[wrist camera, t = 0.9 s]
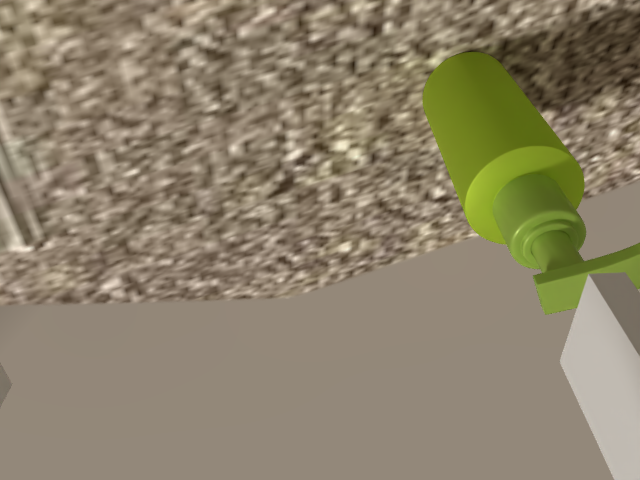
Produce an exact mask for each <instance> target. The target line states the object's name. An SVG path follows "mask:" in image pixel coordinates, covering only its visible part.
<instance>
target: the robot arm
mask: <svg viewBox="0 0 640 480" xmlns="http://www.w3.org/2000/svg"><path fill="white" fill-rule="evenodd" d="M560 363H561V365H562V368H563V370H564V372H565V374H566V376H567V379H568V381H569V383H570V385H571V387H572V389H573V392H574V394H575V396H576V398H577V400H578V402H579V404H580V407H581V409H582V411H583V413H584V415H585V417H586V419H587V422H588V424H589V426H590V428H591V430H592V432H593V435H594V437H595V439H596V441H597V443H598V445H599V447H600V450H601V452H602V454H603V456H604V458H605V460H606V462H607V465H608V467H609V469H610V471H611V473H612V476H613V478H614V480H640V293H639V291H638V290H637V288H636V287H635V285H634V284H633V283H632V281H631V280H630V278H629V277H628V275H627V274H626V273H625V272H620V273H596V274H588V277H587V280H586V283H585V286H584V289H583V292H582V295H581V298H580V301H579V304H578V307H577V310H576V314H575V317H574V320H573V323H572V326H571V329H570V332H569V335H568V338H567V342H566V344H565V347H564V351H563V353H562V356H561V359H560ZM11 386H12V383H11V381H10V379H9V377H8V376H7V374H6V372H5V370H4V369H3V367H2V365H1V364H0V407H1V405H2V403H3V401H4V399H5V397H6V395H7V393H8V391H9V389H10V388H11Z"/></svg>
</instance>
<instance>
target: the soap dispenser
mask: <svg viewBox="0 0 640 480" xmlns="http://www.w3.org/2000/svg"><path fill="white" fill-rule="evenodd" d="M423 108H424V111H425V114H426V116H427V119H428V122H429V124H430V127H431V129H432V132H433V134H434V137H435V139H436V142H437V144H438V147H439V149H440V152H441V155H442V157H443V160H444V162H445V165H446V167H447V170H448V172H449V175H450V177H451V180H452V182H453V185H454V188H455V190H456V193H457V195H458V198H459V200H460V203H461V205H462V208H463V210H464V213H465V215H466V218H467V220H468V223H469V224H470V226H471V227H472V229H473V230H474V231H475V232H476V233H477V234H479V235H480V236H481V237H483V238H485V239H487V240H489V241H492V242H495V243H499V244H507V247H508V249H509V251H510V253H511V255H512V257H513V258H514V259H515V260H516V261H517V262H518V263H519V264H521V265H523V266H525V267H528V268H532V269H541V271H542V273H541V274H537V275H533V279H534V282H535V286H536V289H537V293H538V296H539V300H540V304H541V306H542V309H543V311H544V313H545V314H546V315H547V314H552V313H557V312H561V311H566V310H570V309H574V308H577V307H578V304H579V301H580V298H581V295H582V292H583V289H584V286H585V283H586V280H587V277H588V274H596V273H620V272H625V273H626V274H627V275H628V277H629V278H630V280H631V281H632V283H633V284H634V285H635V287H636V288H637V290H638V289H640V243H638V244H636V245H633V246H631V247H629V248H626V249H623V250H621V251H618V252H615V253H611V254H609V255H605V256H602V257H598V258H595V259H591V260H588V261H584V260H583V259H582V257H581V255H580V254H579V252H578V251H579V249H580V248H581V247H582V245H583V243H584V240H585V237H586V228H585V224H584V222H583V220H582V218H581V217H580V215H579V214H578V213H577V211H576V209H577V208H578V206H579V204H580V202H581V199H582V196H583V192H584V176H583V172H582V169H581V167H580V165H579V164H578V162H577V161H576V160H575V158H574V157H573V156H572V155H571V153H570V152H569V151H568V149H567V148H566V147H565V146H564V144H563V143H562V142H561V140H560V139H559V138H558V137H557V135H556V134H555V133H554V131H553V130H552V129H551V128H550V126H549V125H548V124H547V122H546V121H545V120H544V119H543V117H542V116H541V115H540V113H539V112H538V111H537V109H536V108H535V107H534V106H533V104H532V103H531V102H530V100H529V99H528V98H527V97H526V95H525V94H524V93H523V91H522V90H521V89H520V88H519V86H518V85H517V84H516V82H515V81H514V80H513V79H512V77H511V76H510V75H509V73H508V72H507V71H506V69H505V68H504V67H503V66H502V64H501V63H500V62H499V61H498V60H496V59H495V58H493V57H492V56H490V55H487V54H484V53H480V52H466V53H461V54H457V55H455V56H452V57H450V58H448V59H447V60H445V61H444V62H442V63H441V64H440V65H439V66H438V67H437V68H436V69H435V70H434V71H433V72H432V74H431V75H430V77H429V78H428V80H427V82H426V84H425V87H424V91H423Z"/></svg>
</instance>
